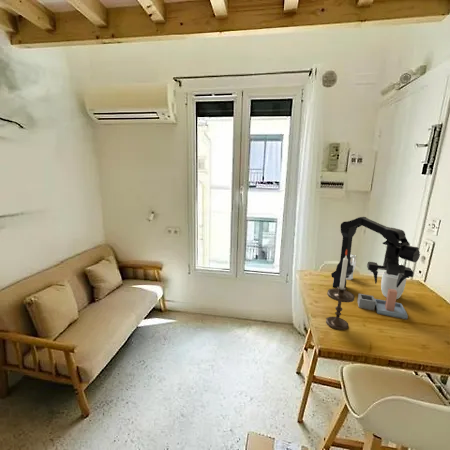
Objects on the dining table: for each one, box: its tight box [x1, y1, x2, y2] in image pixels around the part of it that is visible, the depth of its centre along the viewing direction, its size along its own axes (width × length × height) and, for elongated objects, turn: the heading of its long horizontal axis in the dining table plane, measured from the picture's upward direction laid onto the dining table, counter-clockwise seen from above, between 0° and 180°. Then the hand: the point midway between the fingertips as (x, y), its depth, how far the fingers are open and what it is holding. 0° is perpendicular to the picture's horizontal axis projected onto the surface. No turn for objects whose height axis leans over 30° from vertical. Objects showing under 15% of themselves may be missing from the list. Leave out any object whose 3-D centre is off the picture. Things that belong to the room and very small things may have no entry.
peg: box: [385, 289, 397, 312], centre depth 129 cm, size 3×3×10 cm
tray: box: [374, 298, 409, 320], centre depth 130 cm, size 12×12×2 cm
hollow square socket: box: [357, 293, 376, 311], centre depth 133 cm, size 7×7×5 cm
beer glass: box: [346, 253, 357, 281], centre depth 168 cm, size 7×7×15 cm
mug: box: [380, 270, 407, 300], centre depth 145 cm, size 15×11×13 cm
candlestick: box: [325, 249, 356, 331], centre depth 114 cm, size 11×11×35 cm
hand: (386, 285), depth 131 cm, fingers open, 9 cm apart
